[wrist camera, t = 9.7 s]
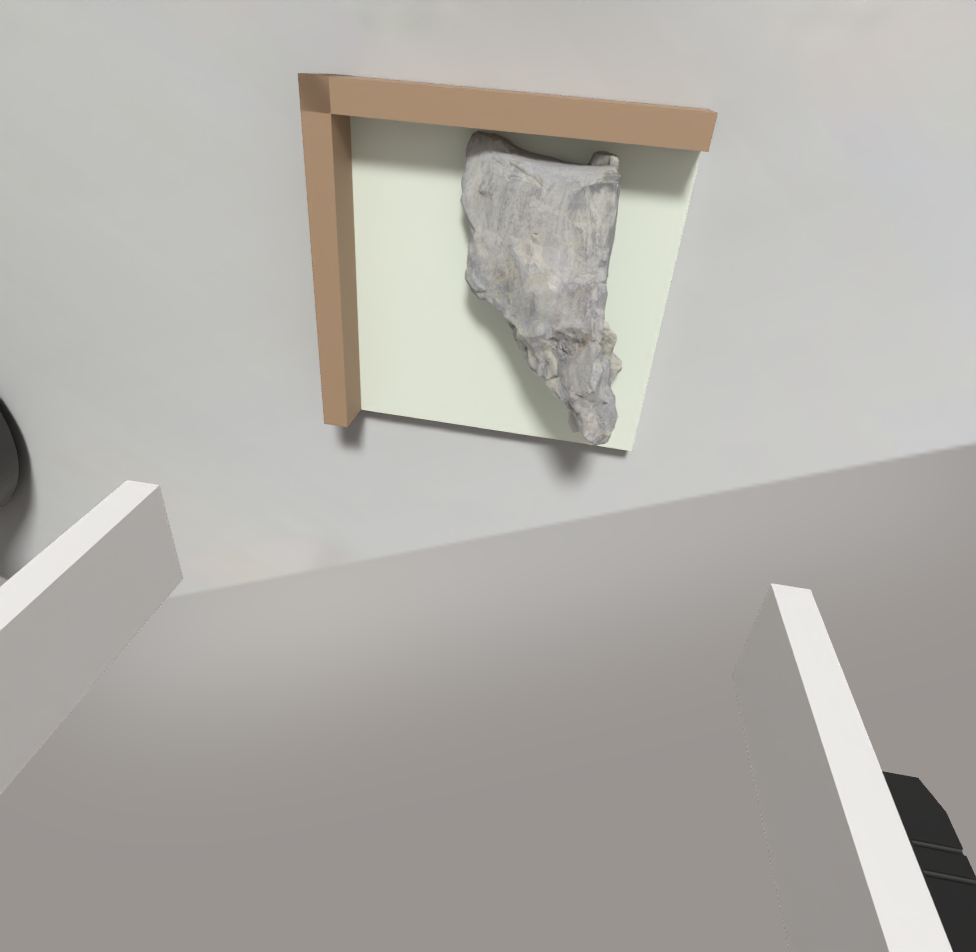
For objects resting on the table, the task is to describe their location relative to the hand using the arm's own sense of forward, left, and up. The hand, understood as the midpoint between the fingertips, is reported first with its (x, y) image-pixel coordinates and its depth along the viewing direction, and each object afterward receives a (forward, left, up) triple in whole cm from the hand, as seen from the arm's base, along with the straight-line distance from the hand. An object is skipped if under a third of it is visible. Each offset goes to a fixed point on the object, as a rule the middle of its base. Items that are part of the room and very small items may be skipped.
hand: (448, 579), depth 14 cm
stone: (+4, -1, -19) cm, 20 cm away
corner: (-2, +1, -19) cm, 19 cm away
